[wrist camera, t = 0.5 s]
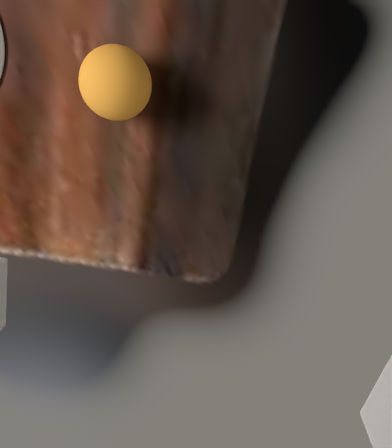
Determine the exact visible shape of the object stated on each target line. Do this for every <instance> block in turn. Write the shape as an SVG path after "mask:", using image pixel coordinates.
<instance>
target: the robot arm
mask: <svg viewBox="0 0 392 448" xmlns="http://www.w3.org/2000/svg"><path fill="white" fill-rule="evenodd" d="M6 292H7V259H6V258H2V257H0V330H1V329H2V328H3V327H4V326H5V325H6ZM360 415H361V417H362V420H363V423H364V425H365V428H366V431H367V433H368V436H369V439H370V441H371V444H372V446H373V448H392V355H391V357H390V359H389V361H388V363H387V364H386V366H385V368H384V370H383V372H382V374H381V375H380V377H379V379H378V381H377V382H376V384H375V386H374V388H373V390H372V392H371V393H370V396H369V397H368V399H367V401H366V402H365V404H364V406H363V408H362V410H361V411H360Z"/></svg>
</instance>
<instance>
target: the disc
mask: <svg viewBox="0 0 392 448" xmlns="http://www.w3.org/2000/svg"><path fill="white" fill-rule="evenodd" d="M4 60H5V43H4V36H3V30H2V26H1V23H0V79H1V76H2V72H3V68H4Z"/></svg>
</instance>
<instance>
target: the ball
mask: <svg viewBox="0 0 392 448" xmlns="http://www.w3.org/2000/svg"><path fill="white" fill-rule="evenodd" d="M79 88H80V91H81V94H82V97H83V99H84V100H85V102H86V104H87V105H88V106H89V107H90V108H91V109H92V110H93V111H94V112H95V113H96V114H98V115H100V116H101V117H104V118H106V119H109V120H115V121H120V120H127V119H130V118H132V117H134V116H136V115H137V114H139V113H140V112H141V111H142V110H143V109H144V108H145V106H146V105H147V103H148V101H149V99H150V95H151V91H152V80H151V75H150V71H149V69H148V67H147V65H146V63H145V62H144V60H143V59H142V58H141V57H140V55H138V54H137V53H136V52H135V51H133V50H132V49H130V48H128V47H126V46H123V45H119V44H106V45H102V46H99V47H97V48H95V49H94V50H92V51H91V52H90V53H89V54H88V55H87V56H86V57H85V59H84V61H83V62H82V65H81V67H80V71H79Z"/></svg>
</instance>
